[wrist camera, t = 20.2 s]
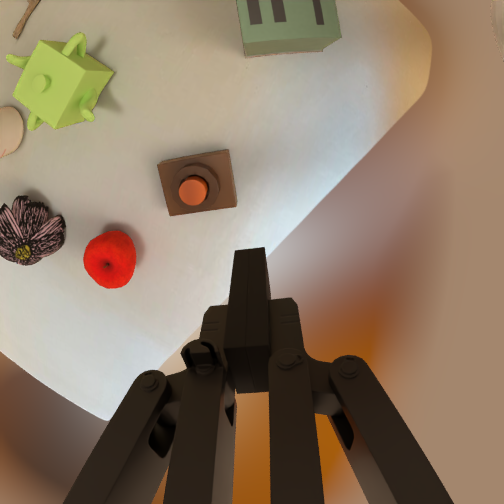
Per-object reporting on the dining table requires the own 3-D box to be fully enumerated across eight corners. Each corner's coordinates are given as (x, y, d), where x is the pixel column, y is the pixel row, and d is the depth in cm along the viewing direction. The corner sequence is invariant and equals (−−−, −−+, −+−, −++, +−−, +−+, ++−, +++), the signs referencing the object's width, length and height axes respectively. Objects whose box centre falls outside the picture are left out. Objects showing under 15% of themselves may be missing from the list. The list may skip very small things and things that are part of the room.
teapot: (125, 113, 38) (89, 122, 29) (57, 137, 39) (16, 153, 30) (110, 22, 31) (72, 10, 21) (42, 55, 32) (0, 56, 22)
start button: (205, 173, 39) (202, 177, 38) (210, 199, 41) (208, 203, 39) (179, 178, 39) (176, 182, 38) (184, 202, 41) (182, 207, 40)
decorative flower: (28, 300, 43) (-31, 251, 34) (38, 263, 52) (-11, 218, 42) (73, 253, 43) (9, 192, 33) (79, 219, 52) (28, 167, 42)
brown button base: (228, 149, 41) (225, 154, 38) (237, 201, 45) (235, 211, 41) (161, 161, 42) (152, 167, 38) (173, 210, 46) (166, 221, 42)
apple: (149, 267, 51) (135, 295, 44) (105, 265, 51) (87, 291, 44) (141, 220, 46) (123, 243, 40) (95, 220, 46) (73, 242, 40)
